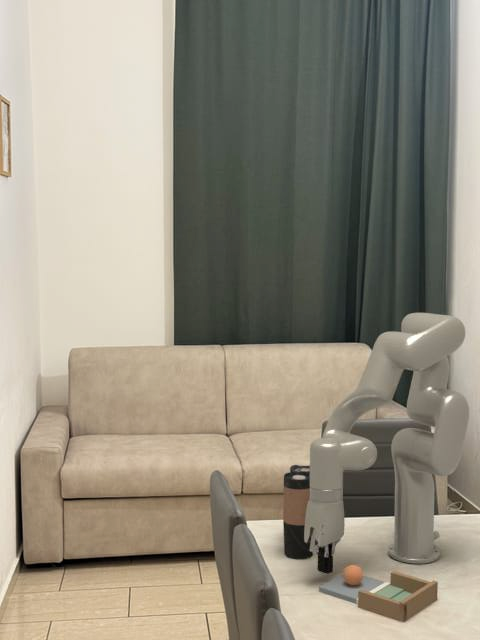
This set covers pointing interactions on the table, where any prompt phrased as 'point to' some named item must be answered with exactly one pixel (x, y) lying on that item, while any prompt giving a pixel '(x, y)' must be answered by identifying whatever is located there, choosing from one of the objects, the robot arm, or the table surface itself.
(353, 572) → the ball
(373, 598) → the lane
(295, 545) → the travel mug
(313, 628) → the table surface
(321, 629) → the table surface
